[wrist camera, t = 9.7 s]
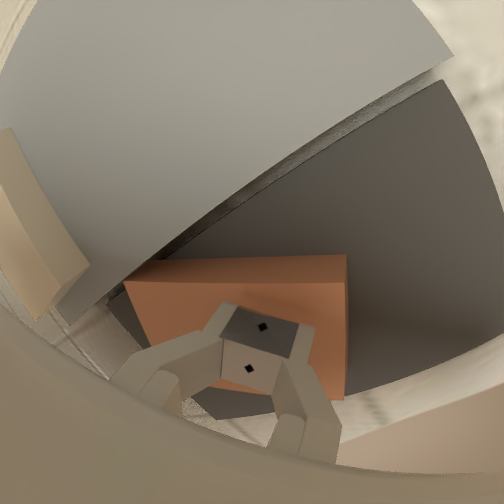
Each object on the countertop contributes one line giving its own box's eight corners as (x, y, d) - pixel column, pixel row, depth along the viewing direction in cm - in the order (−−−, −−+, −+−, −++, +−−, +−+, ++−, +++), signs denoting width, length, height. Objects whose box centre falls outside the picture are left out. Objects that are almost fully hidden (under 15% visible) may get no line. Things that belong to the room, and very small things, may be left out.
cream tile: (90, 264, 12) (60, 286, 11) (57, 304, 15) (35, 322, 14) (10, 127, 11) (-20, 135, 9) (-10, 192, 14) (-32, 203, 12)
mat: (218, 415, 19) (216, 420, 19) (109, 301, 17) (105, 304, 17) (521, 315, 9) (524, 320, 9) (439, 80, 7) (442, 79, 7)
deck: (93, 304, 18) (69, 325, 16) (0, 151, 15) (-26, 160, 13) (431, 67, 7) (454, 55, 5) (203, -117, 4) (178, -140, 2)
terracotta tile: (183, 353, 16) (167, 377, 15) (148, 260, 14) (123, 280, 12) (347, 367, 13) (343, 400, 11) (346, 254, 11) (344, 282, 9)
